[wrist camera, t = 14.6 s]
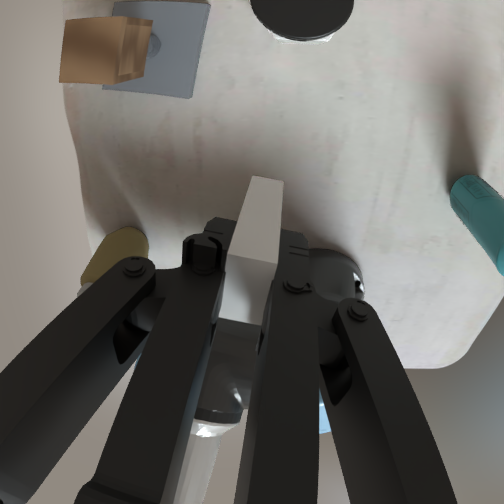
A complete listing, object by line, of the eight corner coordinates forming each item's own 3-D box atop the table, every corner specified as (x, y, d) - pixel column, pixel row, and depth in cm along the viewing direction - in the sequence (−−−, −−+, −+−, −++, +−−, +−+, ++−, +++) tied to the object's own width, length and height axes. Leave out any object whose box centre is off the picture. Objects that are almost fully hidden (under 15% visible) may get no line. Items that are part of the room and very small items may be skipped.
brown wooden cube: (143, 76, 26) (112, 84, 21) (94, 73, 26) (59, 82, 21) (153, 20, 22) (122, 16, 18) (101, 20, 22) (66, 20, 17)
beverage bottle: (438, 206, 38) (503, 307, 22) (451, 163, 35) (535, 249, 18) (472, 213, 38) (540, 308, 22) (486, 172, 34) (569, 257, 18)
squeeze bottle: (106, 245, 50) (50, 321, 35) (119, 210, 45) (55, 288, 31) (145, 269, 52) (100, 352, 37) (163, 237, 47) (113, 325, 33)
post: (158, 59, 31) (104, 66, 21) (136, 57, 30) (77, 66, 21) (162, 35, 29) (109, 34, 19) (140, 34, 29) (81, 35, 19)
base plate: (192, 97, 35) (188, 98, 33) (108, 87, 34) (102, 89, 33) (210, 5, 27) (207, 3, 26) (120, 3, 27) (114, 2, 26)
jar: (246, -1, 27) (225, -24, 17) (309, -30, 24) (315, -65, 14) (288, 59, 31) (286, 61, 21) (350, 31, 28) (376, 22, 18)
